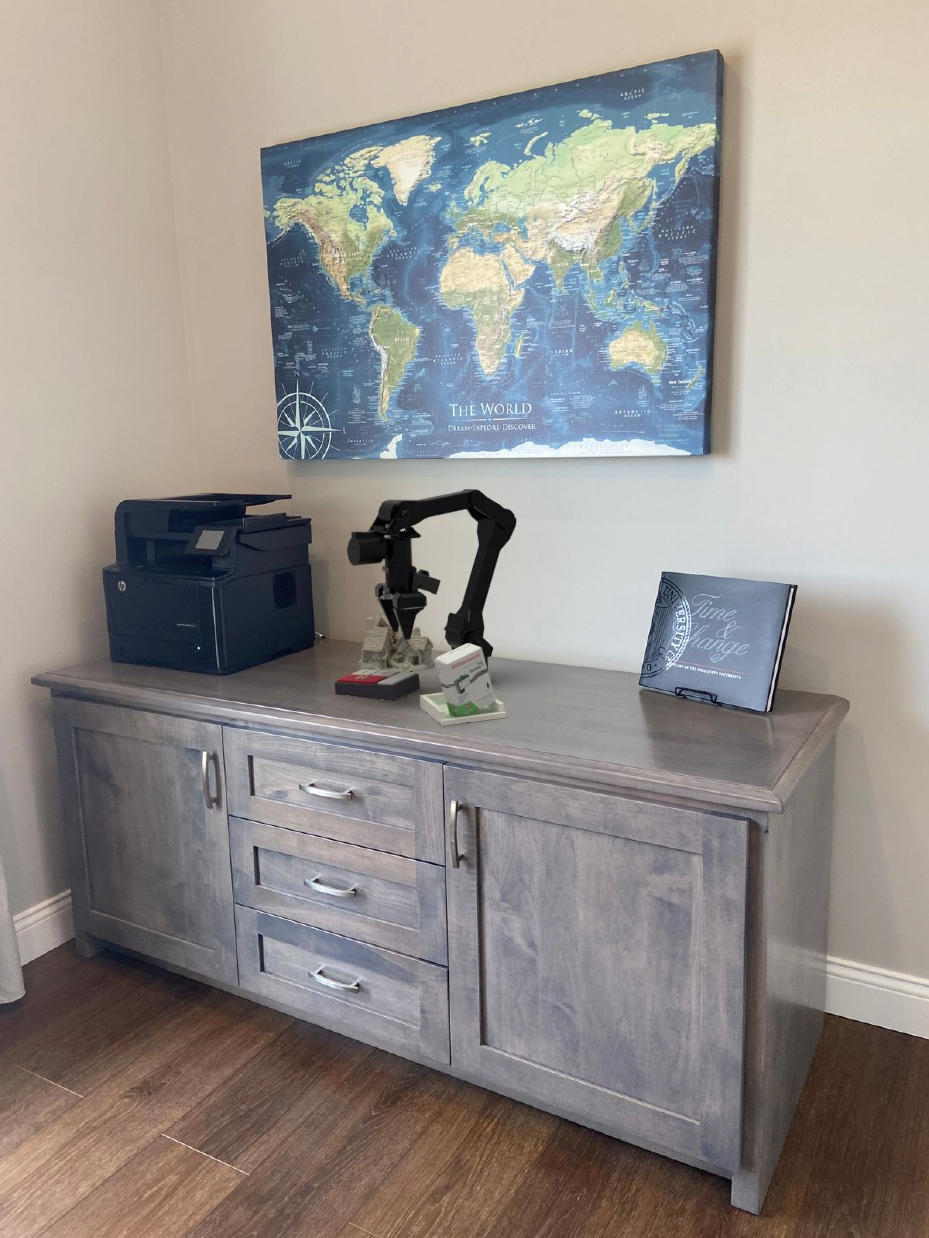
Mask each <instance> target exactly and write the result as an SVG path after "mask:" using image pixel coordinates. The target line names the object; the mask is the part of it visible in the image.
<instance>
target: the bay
mask: <svg viewBox="0 0 929 1238" xmlns="http://www.w3.org/2000/svg"><path fill="white" fill-rule="evenodd" d="M419 706H420V707H421V710H423V711H424V712H425V713H426V712H427V713H428V714H427V713H426V714H427V715H429V716H430V717H431V718H432V719H433V720H434V719H435V722H437V723H438V722H439V723H440V724H441V725H440V724H439V723H438V724H439V725H440V726H441V727H445V726H446V727H447V726H454V725H460V724H461V723H462V724H467V723H466V722H470V723H475V722H482V721H491V720H497V719H505V718H507V712H506V711H505V702H504V703H503V702H502V700H501V701H500V700H499V699H498V698H496V701H495V702H493V703H491V704H489V705H487V706H485V707H483V708H481V709H480V710H478V711H476V712H474V713H472V714H470V715H468V716H464V717H457V716H454V715H452V714H450V713H449V710H448V707H447V703H446V700H445V696H444V693H443V692H436V693H430V694H429V693H428V694H421V695H420V694H419ZM462 724H461V725H462Z"/></svg>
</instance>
